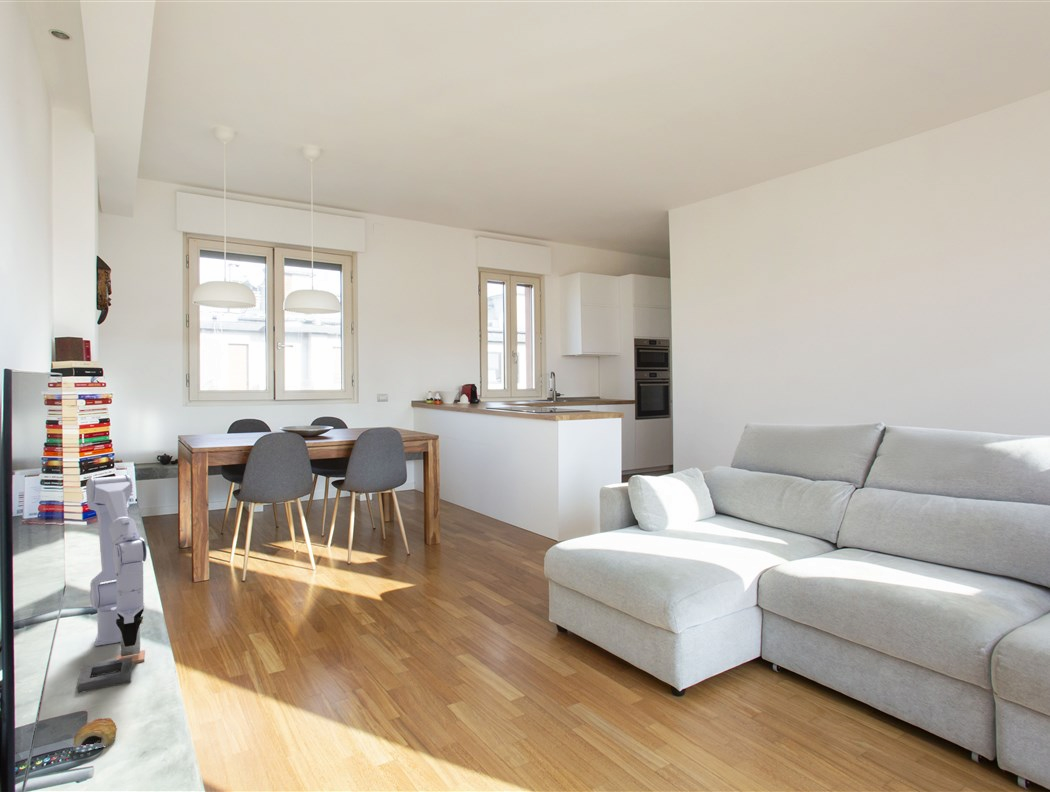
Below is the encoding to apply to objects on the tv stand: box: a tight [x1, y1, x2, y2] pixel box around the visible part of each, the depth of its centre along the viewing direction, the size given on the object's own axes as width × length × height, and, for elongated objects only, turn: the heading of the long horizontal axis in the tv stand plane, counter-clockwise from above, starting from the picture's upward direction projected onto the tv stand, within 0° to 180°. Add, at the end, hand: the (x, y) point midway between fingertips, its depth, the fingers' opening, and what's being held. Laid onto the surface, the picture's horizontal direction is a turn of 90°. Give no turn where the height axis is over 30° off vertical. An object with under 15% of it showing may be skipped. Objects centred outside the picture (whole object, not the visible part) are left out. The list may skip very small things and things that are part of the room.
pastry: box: [72, 717, 118, 747], centre depth 122 cm, size 9×7×4 cm
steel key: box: [120, 619, 144, 657], centre depth 157 cm, size 5×4×8 cm
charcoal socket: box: [77, 657, 133, 694], centre depth 147 cm, size 10×10×2 cm
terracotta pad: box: [115, 649, 146, 665], centre depth 157 cm, size 6×6×1 cm
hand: (130, 642), depth 157 cm, fingers closed on steel key, 4 cm apart
